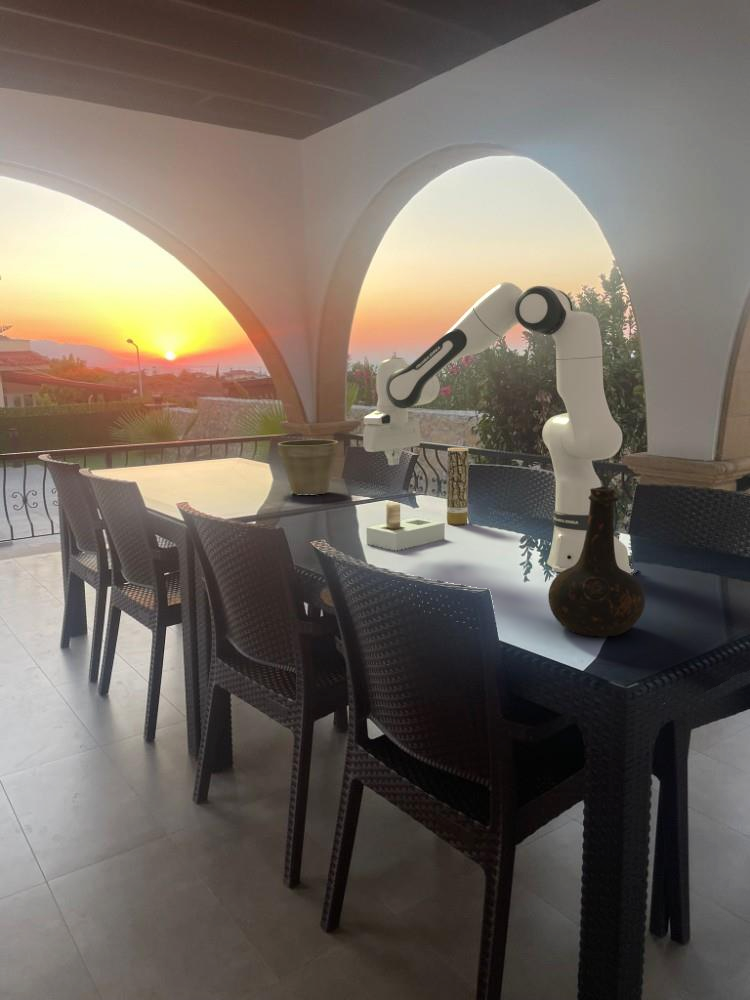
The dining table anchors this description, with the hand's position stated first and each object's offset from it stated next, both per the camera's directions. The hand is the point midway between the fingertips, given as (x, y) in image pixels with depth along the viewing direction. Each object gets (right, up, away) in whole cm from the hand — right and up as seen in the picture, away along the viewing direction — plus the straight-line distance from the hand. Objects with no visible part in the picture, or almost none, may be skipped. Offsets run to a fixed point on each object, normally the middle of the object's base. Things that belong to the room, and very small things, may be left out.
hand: (393, 464), depth 209 cm
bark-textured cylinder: (+22, -18, +33) cm, 44 cm away
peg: (0, -23, +4) cm, 24 cm away
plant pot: (-33, -8, +96) cm, 102 cm away
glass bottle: (+37, -36, -67) cm, 85 cm away
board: (+4, -23, +8) cm, 24 cm away
